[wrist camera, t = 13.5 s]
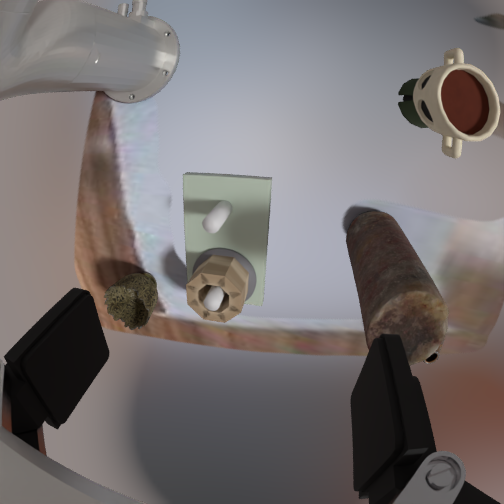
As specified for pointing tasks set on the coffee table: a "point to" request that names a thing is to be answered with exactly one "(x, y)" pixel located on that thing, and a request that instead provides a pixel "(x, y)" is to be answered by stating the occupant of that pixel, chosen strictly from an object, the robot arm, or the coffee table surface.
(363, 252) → the brown log
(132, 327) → the fiber plant pot
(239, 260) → the hub board
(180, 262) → the coffee table surface
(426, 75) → the character mug
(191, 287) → the collar
